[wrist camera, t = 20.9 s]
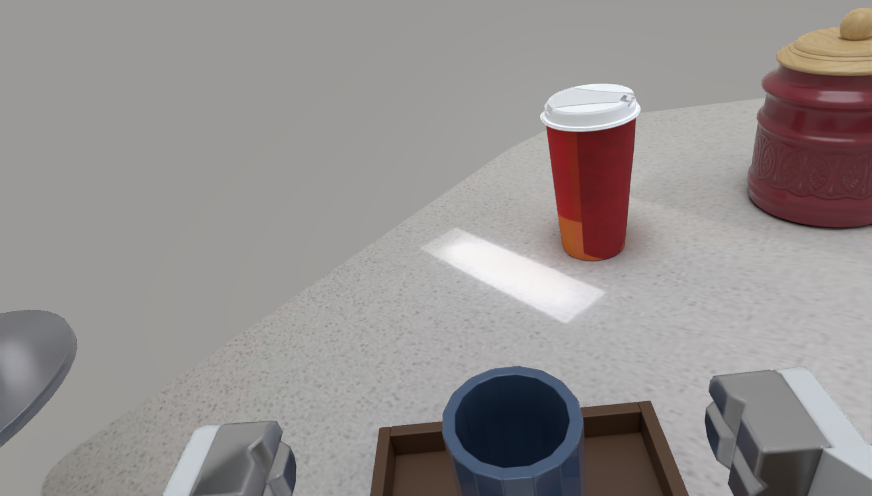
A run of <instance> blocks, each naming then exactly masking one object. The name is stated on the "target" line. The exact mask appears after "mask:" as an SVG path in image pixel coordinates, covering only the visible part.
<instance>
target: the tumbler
mask: <svg viewBox="0 0 872 496" xmlns="http://www.w3.org/2000/svg"><path fill="white" fill-rule="evenodd" d="M442 435H443V439H444V443H445V447H446V451H447V455H448V458H449V462H450V466H451V470H452V474H453V478H454V482H455V486H456V489H457V493H458V496H587V489H586V466H585V444H584V421H583V417H582V413H581V409H580V405H579V402H578V400H577V398H576V397H575V396H574V395H573V393H572V392H571V391H570V390H569V389H568V388H567V386H566V385H565V384H564V383H563V382H562V381H560V380H558V379H557V378H555V377H553V376H551V375H549V374H547V373H545V372H544V371H541V370H537V369H532V368H526V367H521V366H513V367H504V368H494V369H491V370H488V371H486V372H484V373H481V374H479V375H476V376H474V377H472V378H471V379H469V380H467V381H466V382H465V383H464V384H463V385H462V386H461V387H459V388H458V389H457V390H456V391H455V392H454V393H453V394H452V396H451V398H450V400H449V402H448V404H447V406H446V408H445V410H444V412H443V427H442Z"/></svg>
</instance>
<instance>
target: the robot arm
mask: <svg viewBox="0 0 872 496" xmlns="http://www.w3.org/2000/svg"><path fill="white" fill-rule="evenodd" d="M709 393H710V395H711V396H712V398H713V400H714V401H713V402H712V403H711V404H710V405H709V406H708V407H706V414H705V425H706V432H707V437H708V440H709V443H710V446H711V449H712V451H713V453H714V455H715V457H716V460H717V461H718V462H720V463H721V464H722V465H724V466H725V467H727V468H728V469H729V470H730V475H729V481H728V485H729V487H730V489H731V491H732V493H733V495H734V496H872V444H871V445H870V444H869V443H868V442H867V441H866V439H865V438H864V437H863V436H862V434H861V433H860V432H859V430H858V429H857V428H856V427H855V425H854V424H853V423H852V422H851V420H850V419H849V418H848V416H847V415H846V414H845V413H844V411H843V410H842V409H841V408H840V406H839V405H838V404H837V403H836V401H835V400H834V399H833V397H832V396H831V395H830V394H829V392H828V391H827V390H826V389H825V387H824V386H823V385H822V383H821V382H820V381H819V380H818V378H817V377H816V376H815V375H814V373H813V372H812V371H811V370H809V369H808V368H806V367H795V368H786V369H776V370H763V371H754V372H745V373H736V374H727V375H718V376H713V378H712V379H711V381H710V385H709ZM282 433H283V431H282V429H281V428H280V426H279V424H278V422H277V421H260V422H246V423H232V424H221V425H209V426H200V427H199V428H198V429H197V430H195V431H194V432H193V434H192V436H191V438H190V440H189V442H188V444H187V446H186V448H185V450H184V452H183V454H182V456H181V458H180V460H179V462H178V464H177V466H176V468H175V470H174V472H173V474H172V476H171V478H170V480H169V482H168V485H167V487H166V489H165V491H164V493H163V495H162V496H292V494H293V490H294V486H295V482H296V462H295V457H294V454H293V452H292V450H291V447H290V446H288V445H287V444H285V443H283V442H282V441H280V440H281V436H282Z"/></svg>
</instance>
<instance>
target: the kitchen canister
mask: <svg viewBox="0 0 872 496" xmlns="http://www.w3.org/2000/svg"><path fill="white" fill-rule="evenodd" d="M776 59H777V61H778V62H779V63H780V65H779V67H777V68H775V69H773V70H772V71H770V72H768V73H767V74H766V75H765V76H764V77H763V79H762V87H763V89H764V90H765V92H766V93H767V95H766V99H765V103H764V106H762V107H761V108H760V110H759V111H758V113H757V121H758V125H757V132H756V138H755V145H754V152H753V158H752V164H751V166H750V168H749V171H748V179H747V183H748V186H749V196H750V198H751V200H752V201H753V202H754V203H755V204H756V205H757V206H758V207H760V208H761V209H763V210H764V211H766V212H768V213H770V214H772V215H774V216H777V217H779V218H782V219H785V220H789V221H792V222H796V223H801V224H806V225H813V226H822V227H855V226H863V225H869V224H872V9H870V8H859V9H855V10H853V11H851V12H849V13H848V14H847V15H846V16H845V17H844V19H843V20H842V22H841V24H840V27H834V28H827V29H822V30H817V31H813V32H810V33H807V34H804V35H802V36H801V37H800V38H798V39H797V41H795V42H793V43H791V44H789V45H787V46H785V47H783V48H782V49H780V50H779V51H778V52H777V55H776Z"/></svg>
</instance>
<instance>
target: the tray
mask: <svg viewBox="0 0 872 496" xmlns="http://www.w3.org/2000/svg"><path fill="white" fill-rule="evenodd" d="M580 409H581V413H582V417H583V421H584V444H585V466H586V489H587V496H689V495H688V492H687V490H686V487H685V485H684V482H683V480H682V478H681V475H680V473H679V470H678V468H677V465H676V463H675V460H674V458H673V455H672V453H671V450H670V448H669V445H668V443H667V440H666V438H665V435H664V433H663V430H662V428H661V426H660V423H659V421H658V418H657V416H656V413H655V411H654V408H653V406H652V403H651V401H642V402H638V403H637V402H633V403H623V404H613V405H603V406H593V407H583V408H580ZM442 427H443V421H442V422H432V423H422V424H412V425H402V426H392V427H382V428H380V429H379V435H378V443H377V450H376V457H375V465H374V472H373V479H372V487H371V494H370V496H458V493H457V489H456V486H455V482H454V478H453V474H452V470H451V466H450V462H449V458H448V455H447V451H446V447H445V443H444V439H443V435H442Z"/></svg>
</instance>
